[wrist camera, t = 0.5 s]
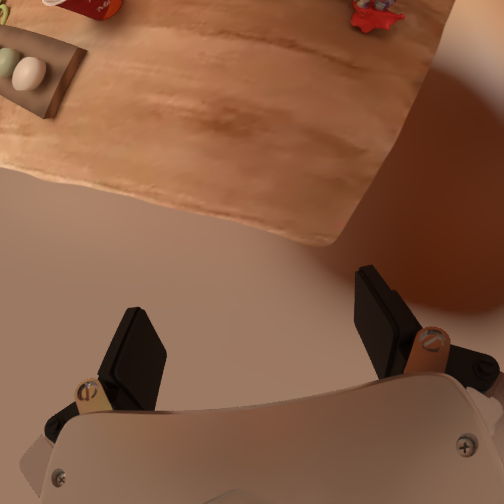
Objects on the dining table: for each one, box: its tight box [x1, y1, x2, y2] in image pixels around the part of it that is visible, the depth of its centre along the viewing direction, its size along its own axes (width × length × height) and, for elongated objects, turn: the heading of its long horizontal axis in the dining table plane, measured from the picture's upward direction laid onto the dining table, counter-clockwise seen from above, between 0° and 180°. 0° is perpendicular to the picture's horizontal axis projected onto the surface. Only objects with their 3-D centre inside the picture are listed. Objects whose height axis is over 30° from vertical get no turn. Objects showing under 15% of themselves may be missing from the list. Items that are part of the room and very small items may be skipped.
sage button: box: [0, 48, 19, 78], centre depth 21 cm, size 5×5×3 cm
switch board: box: [0, 24, 87, 119], centre depth 25 cm, size 12×26×3 cm, turn 56°
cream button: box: [12, 57, 46, 90], centre depth 23 cm, size 5×5×3 cm
